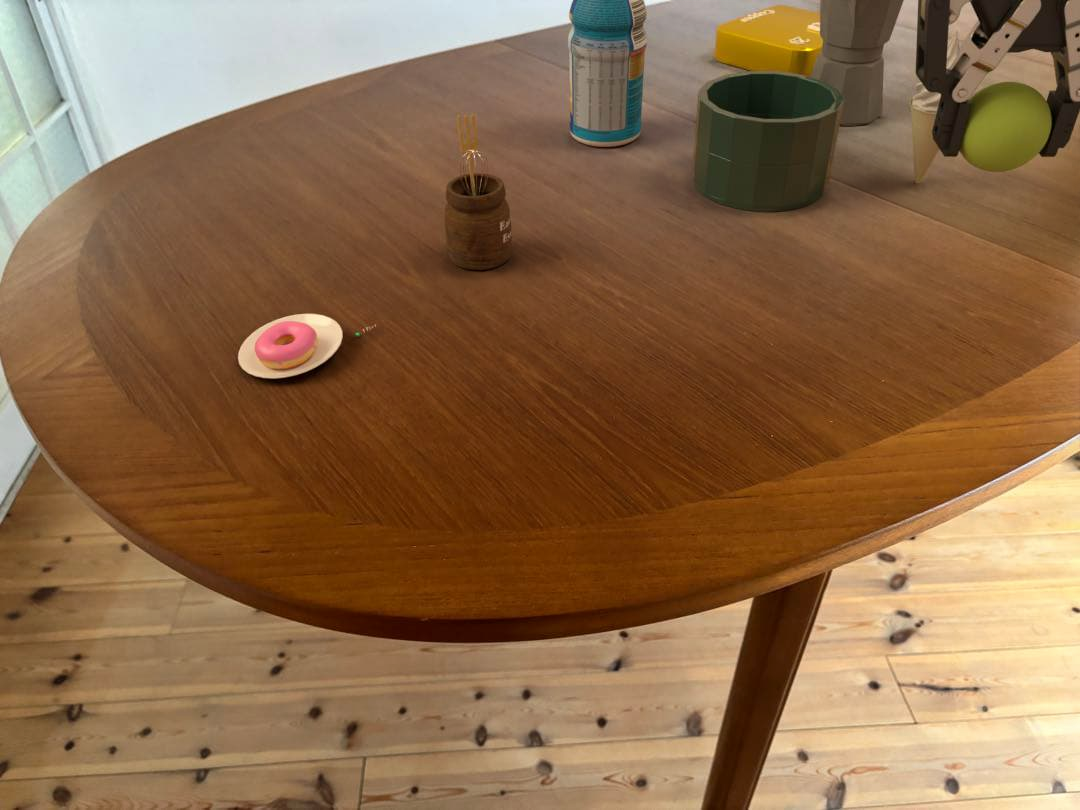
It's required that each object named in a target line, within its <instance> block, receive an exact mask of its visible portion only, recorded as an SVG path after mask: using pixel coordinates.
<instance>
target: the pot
mask: <svg viewBox="0 0 1080 810" xmlns="http://www.w3.org/2000/svg"><path fill="white" fill-rule="evenodd" d="M843 103H844V100H843V98H842V96H841V94H840V92H839V90H837V89H836V88H834V87H832V86H831V85H829V84H827V83H826V82H824V81H821V80H818V79H814V78H811V77H807V76H804V75H800V74H793V73H785V72H778V71H749V70H747V71H741V72H735V73H727V74H724V75H721V76H718V77H715V78H713V79H710V80H708V81H706V82H705V83H704V84H703V85H702V86H701V87H700V88H699V89H698V93H697V105H696V116H695V117H696V118H695V130H694V141H693V152H692V153H693V154H692V164H691V165H692V167H691V173H692V175H691V176H692V178H691V182H692V184H693V187H694V188H695V189H696V190H697V191H698V193H699V194H701V195H702V196H703V197H705V198H707V199H708V200H710V201H713V202H715V203H717V204H720V205H722V206H726V207H729V208H733V209H737V210H744V211H750V212H767V213H768V212H785V211H792V210H796V209H801V208H804V207H807V206H810V205H812V204H814V203H815V202H817V201H819V200H820V199H821V198H822V197H824V195H825V194H826V191H827V188H828V185H829V184H830V178H831V173H832V168H833V162H834V157H835V151H836V146H837V142H838V141H837V140H838V135H839V130H840V126H839V125H840V120H841V114H842V109H843Z"/></svg>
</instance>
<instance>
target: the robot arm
mask: <svg viewBox="0 0 1080 810" xmlns="http://www.w3.org/2000/svg"><path fill="white" fill-rule="evenodd" d="M969 2H970V5H971V7H972V8H973V11H974V13H975V15H976V18H977V21H976V22H975V23H974V25H973V26H972V28H971V30H970V31H969V32H968V33H967V36H965V38H964V39H963V41H962V43H961V45H960V53H959V54H958V56H957V57H956V59H955V60H954V62H953V63H952V65H951V66H950V67H949V69H947V68H946V65H947V47H948V43H949V27H950V25H952V24H954V23H955V22H956V21H957V20H958V19H959V17H960V14H961V11H962V8H963V7H964V6H965V5H966V4H968V3H969ZM916 21H917V25H916V45H915V46H916V48H915V54H916V55H915V75H916V77H917V78H918V80H919V81H920V82H922V84H923V85H924V87H925V88H926V89H927V91H929V92H937V93H940V94H941V97H940V101H939V105H938V109H937V114H936V118H935V122H934V126H933V130H932V135H933V140H934V141H935V143H936V144H937V146H938V147H939V152H941V154H942V155H943V157H945V158H955V157H956V158H957V157H958V155H959V154H960V151H959V149H960V146H961V142H962V138H963V135H964V131H965V127H966V123H967V120H968V116H969V112H970V109H971V105H972V103H971V102H970V100H969V99H970V98H971V97H972V96H973V95H974V94H975V93H974V92H975V91H976V90H977V89H978V87H979V86H980V85H981V83H982V82H983V81H984V79H985V77H986V76H987V75H988V74H989V73H990V72H993V71H994V70H995V69H996V68H997V67H998V66H999V64H1000V63H1001V62H1002V60H1003V59H1004V57H1005V56H1006V55H1007V53H1008V54H1009V53H1010V54H1011V53H1013V54H1014V53H1015V54H1017V53H1022V52H1026V51H1029V50H1036V51H1039V52H1043V53H1050V55H1051V57H1052V61H1053V68H1054V77H1055V83H1056V88H1055V90H1054V89H1053V90H1049V92H1048V95H1047V98H1046V101H1047V103H1048V106H1049V108H1050V111H1051V118H1052V125H1051V131H1050V135H1049V137H1048V140H1047V142H1046V144H1045V145H1044V147H1043V148H1042V150H1041V151H1040V152H1039V153H1038V155H1039V156H1040V157H1041V158H1054V157H1055V156H1057V154H1058V151H1059V149H1064V148H1065V147H1066V146H1067V144H1068V143H1069V142H1070V140H1071V138H1072V134H1073V132H1074V128H1075V125H1076V123H1077V120H1078V116H1079V114H1080V0H917V20H916Z"/></svg>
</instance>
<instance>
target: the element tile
mask: <svg viewBox="0 0 1080 810" xmlns="http://www.w3.org/2000/svg"><path fill="white" fill-rule="evenodd" d="M715 30H716V32H715V44H714V53H713V57H714V59H715V61H717V62H719V63H721V64H725V65H728V66H732V67H735V68H738V69H743V70H745V71H778V72H785V73H793V74H800V75H804V76H807V77H811V74H812V71H813V68H814V65H815V62H816V59H817V56H818V55H819V54H820V53H821V50H822V44H823V39H822V38H821V36H820V12H816V11H813V10H808V9H804V8H800V7H796V6H790V5H786V4H776V5H771V6H769V7H766V8H763V9H760V10H757V11H754V12H751V13H749V14H746V15H743V16H739V17H737V18H735V19H732V20H729V21H727V22H723V23H721V24H718V25H717V27H716V29H715Z"/></svg>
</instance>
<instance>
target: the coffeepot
mask: <svg viewBox="0 0 1080 810" xmlns="http://www.w3.org/2000/svg"><path fill="white" fill-rule="evenodd" d="M904 1H905V0H820V2H819V3H820V4H819V13H820V36H821V38H822V39H823V44H822V50H821V53H820V54H819V55H818V56H817V59H816V62H815V65H814V68H813V71H812V74H811V78H814V79H818V80H821V81H824V82H826V83H827V84H829V85H831V86H832V87H834V88H836V89H837V90H839V92H840V94H841V96H842V98H843V100H844V103H843V109H842V114H841V120H840V125H839V127H858V126H863V125H867V124H871V123H873V122H875V121H876V120H878V118H879V116H881V115H883V102H884V101H883V99H884V97H883V96H884V95H883V94H884V71H885V70H884V69H885V61H884V58H883V52H884V47H885V44H887V43H888V42H889V41H890V40H891V37H892V34H893V32H894V29H895V25H896V23H897V20H898V18H899V16H900V15H899V14H900V12H901V9H902V6H903V3H904Z"/></svg>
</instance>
